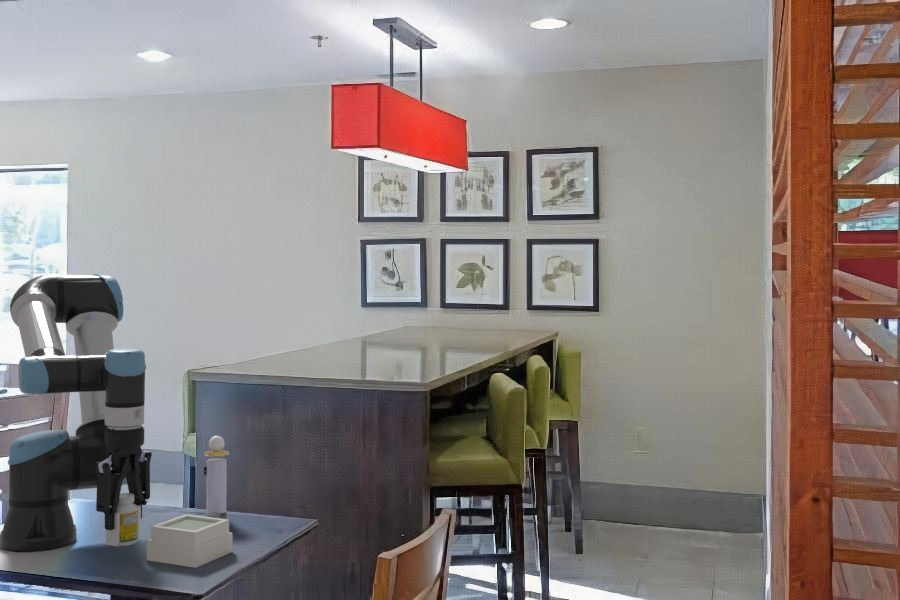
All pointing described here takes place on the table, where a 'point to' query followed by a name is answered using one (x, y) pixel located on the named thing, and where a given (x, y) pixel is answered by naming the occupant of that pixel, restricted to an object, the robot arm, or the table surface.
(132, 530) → the supplement bottle
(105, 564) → the table surface
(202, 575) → the table surface
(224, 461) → the perfume bottle
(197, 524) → the display pedestal
